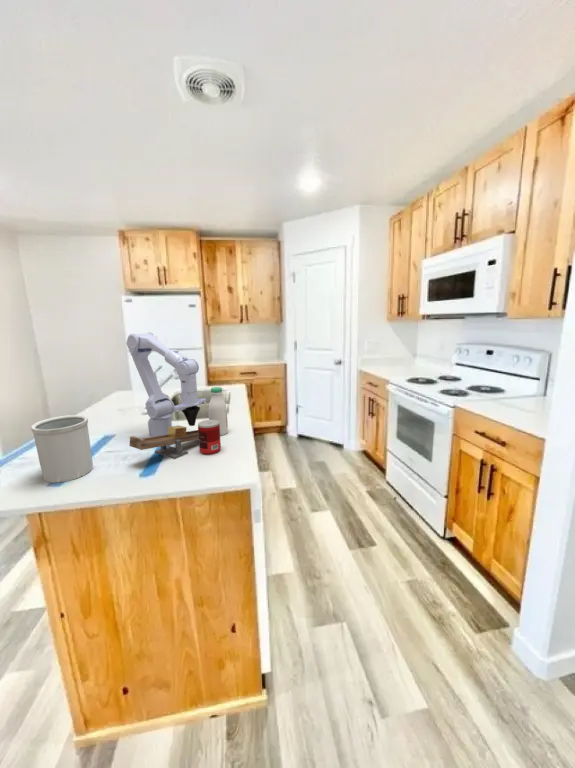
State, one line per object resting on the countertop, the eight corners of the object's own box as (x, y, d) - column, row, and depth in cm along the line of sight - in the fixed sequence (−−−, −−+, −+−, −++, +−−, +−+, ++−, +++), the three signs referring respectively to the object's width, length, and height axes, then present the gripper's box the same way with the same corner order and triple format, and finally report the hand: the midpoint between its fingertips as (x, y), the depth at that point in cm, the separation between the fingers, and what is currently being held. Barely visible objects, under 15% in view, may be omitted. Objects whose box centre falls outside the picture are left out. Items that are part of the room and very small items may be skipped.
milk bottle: (226, 436, 140) (223, 389, 136) (207, 436, 140) (204, 389, 136) (229, 430, 148) (227, 385, 144) (212, 430, 148) (209, 386, 144)
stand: (155, 452, 124) (153, 438, 123) (168, 447, 129) (167, 433, 128) (174, 459, 118) (173, 443, 117) (188, 453, 123) (186, 438, 122)
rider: (167, 437, 124) (168, 426, 123) (178, 435, 128) (179, 425, 128) (175, 439, 122) (175, 428, 121) (185, 437, 126) (186, 427, 126)
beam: (129, 446, 112) (129, 436, 112) (200, 434, 139) (200, 426, 139) (141, 450, 109) (142, 440, 108) (212, 437, 136) (212, 429, 136)
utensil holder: (62, 487, 99) (53, 431, 96) (29, 479, 104) (19, 426, 101) (104, 466, 113) (98, 417, 109) (73, 460, 118) (66, 413, 114)
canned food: (223, 446, 129) (221, 419, 126) (217, 455, 121) (215, 426, 119) (204, 446, 129) (202, 419, 127) (196, 454, 122) (194, 426, 119)
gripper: (181, 396, 120) (184, 432, 122) (210, 388, 132) (212, 421, 134) (168, 394, 123) (171, 429, 126) (198, 387, 135) (200, 419, 138)
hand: (191, 425), depth 130 cm, fingers closed
